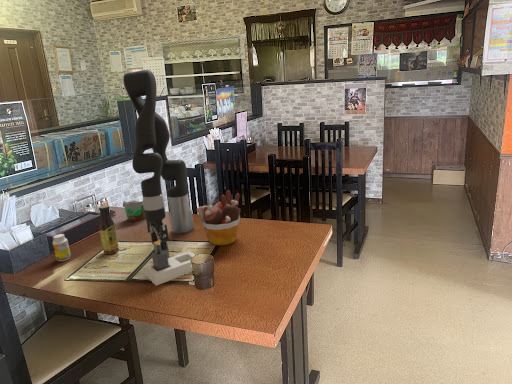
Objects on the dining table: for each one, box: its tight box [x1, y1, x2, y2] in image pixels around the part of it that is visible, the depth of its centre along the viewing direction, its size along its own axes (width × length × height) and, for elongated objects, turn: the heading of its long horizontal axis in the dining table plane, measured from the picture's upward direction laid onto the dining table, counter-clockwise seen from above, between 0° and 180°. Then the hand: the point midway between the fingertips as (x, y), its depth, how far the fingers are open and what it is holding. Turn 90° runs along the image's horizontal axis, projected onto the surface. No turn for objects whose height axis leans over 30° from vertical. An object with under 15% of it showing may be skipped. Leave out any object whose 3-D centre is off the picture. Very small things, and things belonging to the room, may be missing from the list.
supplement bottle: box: [52, 233, 72, 262], centre depth 159 cm, size 6×6×10 cm
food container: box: [122, 200, 146, 223], centre depth 200 cm, size 12×6×10 cm, turn 81°
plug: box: [152, 239, 170, 258], centre depth 150 cm, size 4×4×8 cm
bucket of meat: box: [196, 189, 241, 247], centre depth 165 cm, size 20×16×20 cm
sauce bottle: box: [98, 204, 119, 255], centre depth 162 cm, size 7×6×20 cm
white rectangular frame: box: [144, 245, 196, 287], centre depth 140 cm, size 18×9×12 cm, turn 127°
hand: (159, 247), depth 150 cm, fingers open, 8 cm apart
